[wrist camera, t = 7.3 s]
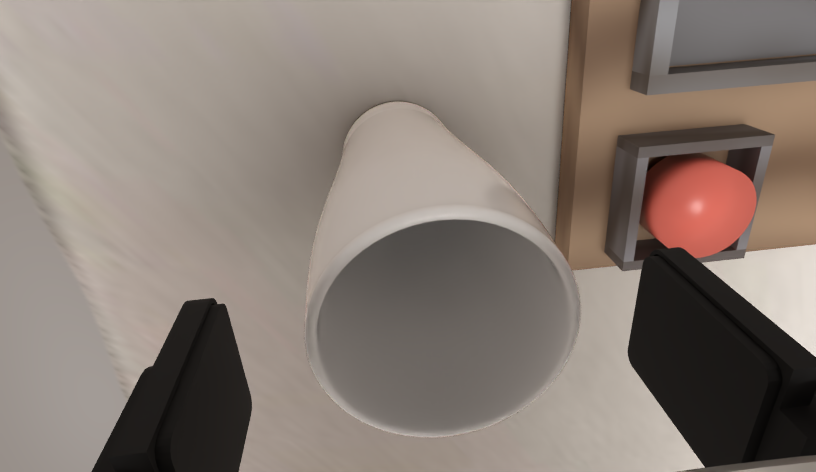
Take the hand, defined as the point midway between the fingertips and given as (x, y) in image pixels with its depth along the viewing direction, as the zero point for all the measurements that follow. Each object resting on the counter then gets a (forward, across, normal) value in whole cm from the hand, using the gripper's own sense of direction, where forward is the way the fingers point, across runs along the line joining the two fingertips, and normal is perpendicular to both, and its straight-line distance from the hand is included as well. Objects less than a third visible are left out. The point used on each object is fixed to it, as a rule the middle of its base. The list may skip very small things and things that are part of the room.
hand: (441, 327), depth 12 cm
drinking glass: (+16, 0, +1) cm, 16 cm away
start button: (+13, -14, +3) cm, 19 cm away
